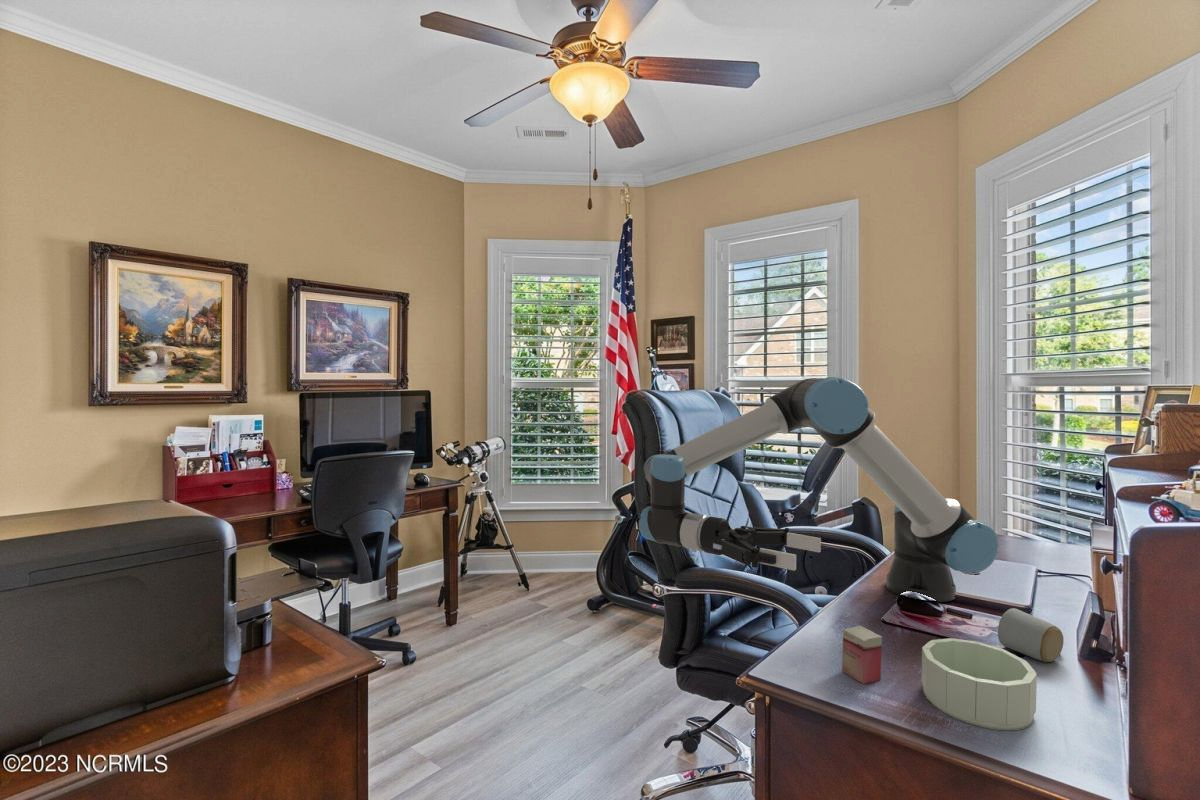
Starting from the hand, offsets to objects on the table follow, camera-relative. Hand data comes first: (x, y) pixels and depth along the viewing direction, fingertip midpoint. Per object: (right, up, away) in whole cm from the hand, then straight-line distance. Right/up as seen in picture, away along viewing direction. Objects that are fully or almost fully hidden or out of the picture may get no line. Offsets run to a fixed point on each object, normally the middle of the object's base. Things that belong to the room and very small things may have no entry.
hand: (808, 553), depth 106 cm
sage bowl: (+22, -21, -14) cm, 33 cm away
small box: (+7, -21, -5) cm, 23 cm away
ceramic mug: (+44, -20, +3) cm, 49 cm away
